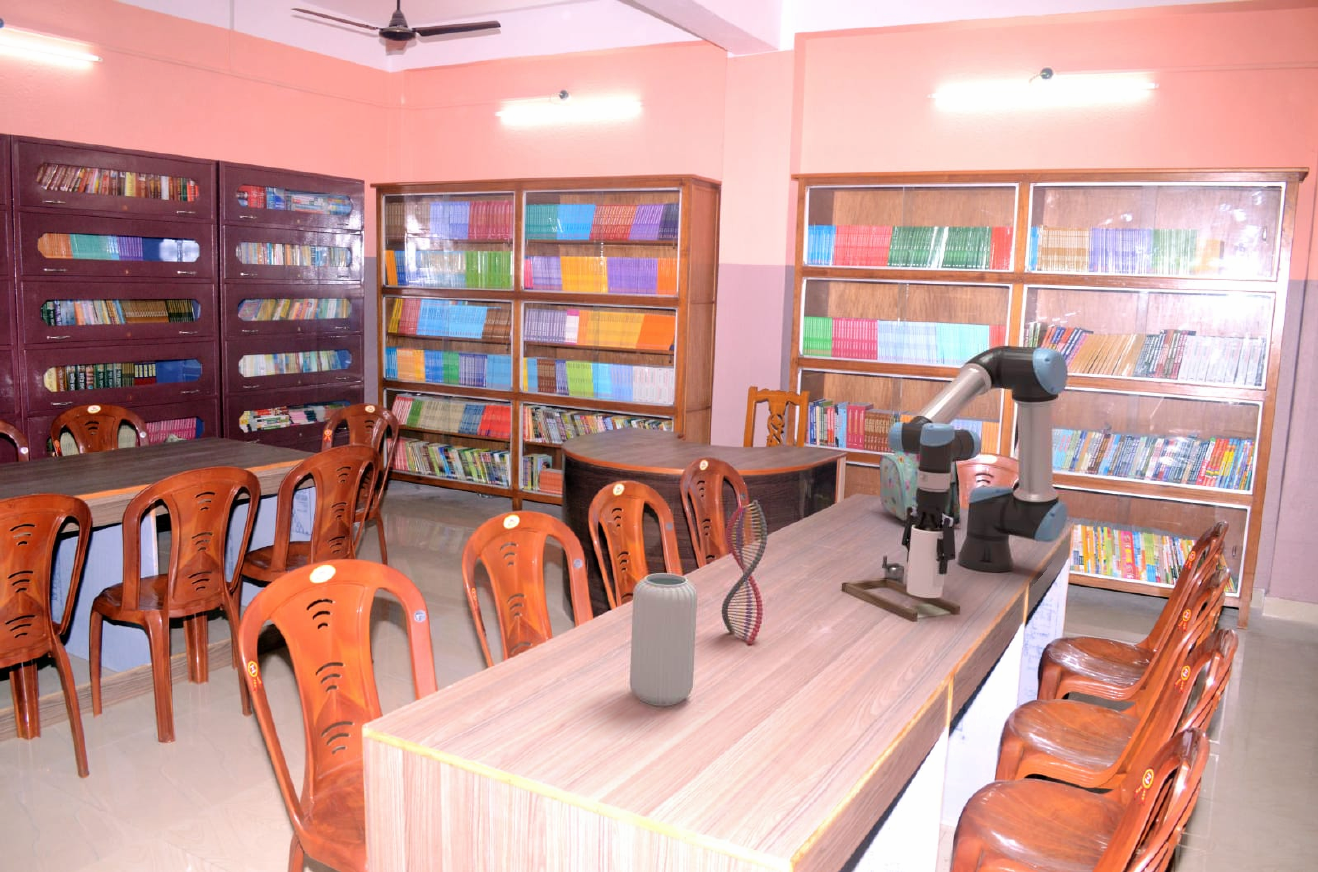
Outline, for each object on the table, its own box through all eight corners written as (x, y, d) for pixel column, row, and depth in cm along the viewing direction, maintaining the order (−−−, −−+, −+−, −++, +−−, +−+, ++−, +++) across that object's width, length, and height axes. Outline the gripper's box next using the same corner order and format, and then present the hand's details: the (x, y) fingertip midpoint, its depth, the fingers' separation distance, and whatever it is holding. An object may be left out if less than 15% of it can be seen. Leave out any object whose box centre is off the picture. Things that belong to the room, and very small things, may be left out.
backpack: (868, 512, 348) (874, 423, 343) (933, 513, 350) (941, 425, 346) (895, 530, 320) (903, 434, 315) (966, 531, 323) (975, 436, 318)
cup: (943, 599, 228) (948, 533, 225) (907, 595, 229) (912, 530, 227) (940, 589, 236) (945, 525, 233) (905, 586, 237) (910, 522, 235)
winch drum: (894, 581, 259) (896, 551, 257) (907, 586, 254) (909, 556, 253) (875, 583, 255) (877, 553, 254) (888, 589, 251) (890, 558, 250)
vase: (700, 707, 172) (706, 586, 169) (638, 712, 169) (643, 589, 166) (681, 682, 183) (686, 569, 180) (622, 687, 180) (626, 571, 177)
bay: (886, 584, 255) (886, 577, 255) (959, 613, 233) (960, 605, 232) (841, 590, 248) (842, 582, 248) (912, 621, 226) (913, 613, 225)
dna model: (734, 648, 203) (741, 508, 199) (712, 634, 211) (719, 499, 207) (769, 642, 207) (777, 505, 203) (747, 629, 215) (754, 497, 211)
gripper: (890, 481, 236) (883, 571, 239) (953, 498, 218) (945, 595, 221) (913, 480, 240) (906, 568, 243) (978, 496, 222) (969, 592, 225)
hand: (925, 581), depth 232 cm, fingers closed on cup, 8 cm apart
